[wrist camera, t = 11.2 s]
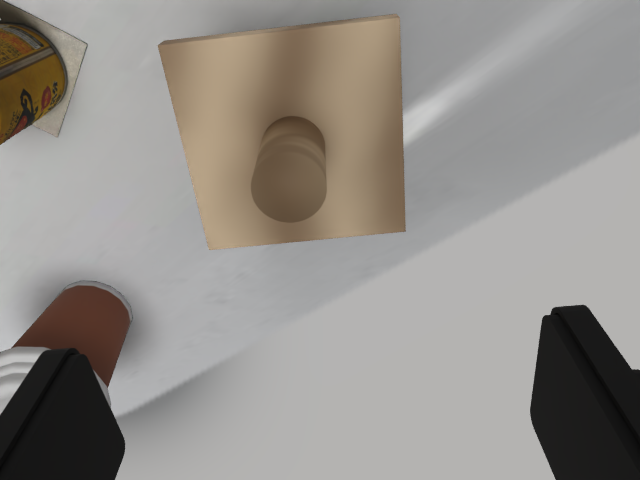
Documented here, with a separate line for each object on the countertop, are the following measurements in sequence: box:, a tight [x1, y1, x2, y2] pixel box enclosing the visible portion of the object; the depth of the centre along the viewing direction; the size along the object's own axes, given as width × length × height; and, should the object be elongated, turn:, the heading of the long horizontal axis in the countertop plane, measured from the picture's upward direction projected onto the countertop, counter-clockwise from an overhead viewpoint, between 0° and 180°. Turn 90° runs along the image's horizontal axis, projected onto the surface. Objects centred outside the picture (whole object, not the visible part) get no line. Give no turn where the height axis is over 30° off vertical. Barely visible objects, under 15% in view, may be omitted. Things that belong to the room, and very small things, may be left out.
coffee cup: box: [0, 281, 133, 415], centre depth 40 cm, size 9×9×12 cm
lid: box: [158, 14, 406, 250], centre depth 25 cm, size 11×11×6 cm
